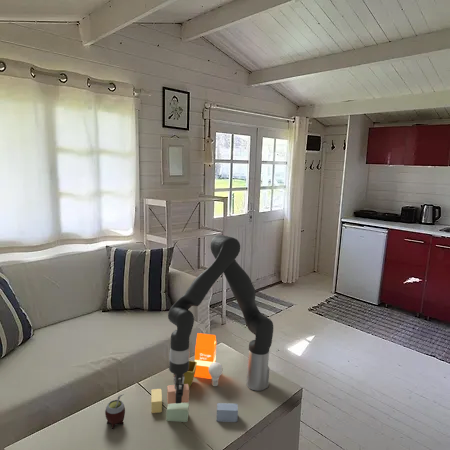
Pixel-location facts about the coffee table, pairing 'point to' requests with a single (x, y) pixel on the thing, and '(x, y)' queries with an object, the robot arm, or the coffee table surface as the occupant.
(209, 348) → the orange juice
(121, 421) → the mate gourd
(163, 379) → the coffee table surface
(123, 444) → the coffee table surface
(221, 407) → the slate brick
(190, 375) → the flower pot
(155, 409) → the ochre brick
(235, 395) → the coffee table surface
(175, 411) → the sage brick
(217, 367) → the lightbulb
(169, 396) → the terracotta brick
